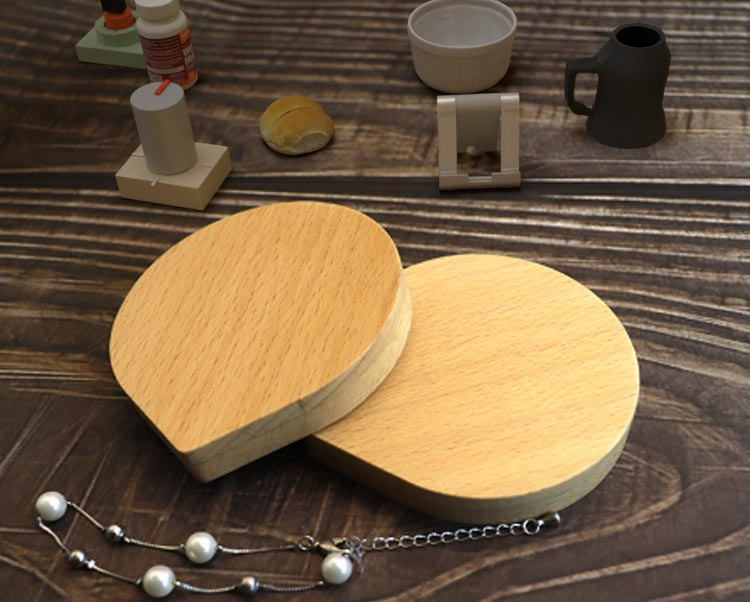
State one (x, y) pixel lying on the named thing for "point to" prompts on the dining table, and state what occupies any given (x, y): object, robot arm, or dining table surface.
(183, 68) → the pill bottle
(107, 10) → the robot arm
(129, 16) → the button
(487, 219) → the dining table surface
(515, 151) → the tablet stand
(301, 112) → the bread roll
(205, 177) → the beige square base
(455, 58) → the ramekin
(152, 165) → the dial
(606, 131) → the mug
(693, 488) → the dining table surface
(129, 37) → the button box
